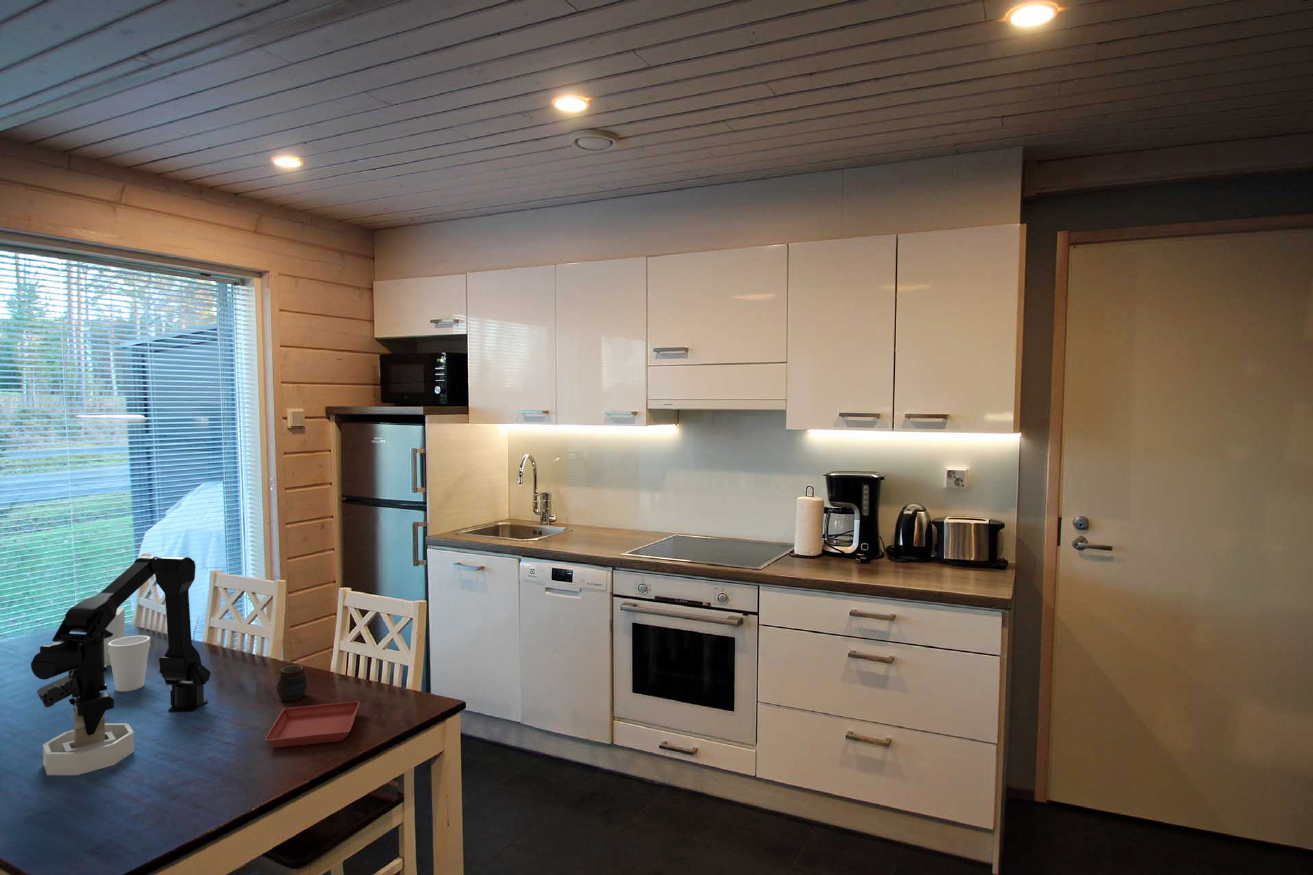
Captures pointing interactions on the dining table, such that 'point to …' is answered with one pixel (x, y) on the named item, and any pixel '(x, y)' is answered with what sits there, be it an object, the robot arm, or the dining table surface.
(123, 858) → the dining table surface
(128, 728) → the octagonal boat dish
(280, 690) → the mate gourd
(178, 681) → the robot arm
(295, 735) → the plant saucer
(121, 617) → the skincare box
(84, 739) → the wood grain block
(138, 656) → the foam cup
